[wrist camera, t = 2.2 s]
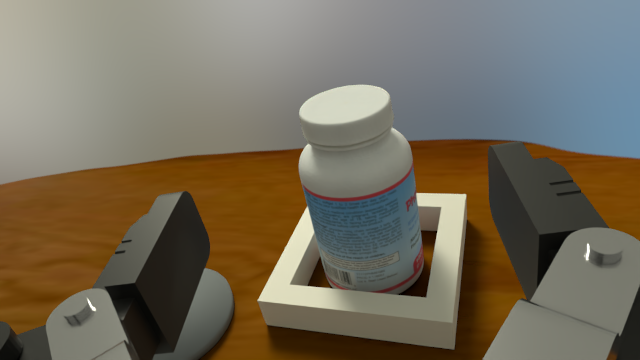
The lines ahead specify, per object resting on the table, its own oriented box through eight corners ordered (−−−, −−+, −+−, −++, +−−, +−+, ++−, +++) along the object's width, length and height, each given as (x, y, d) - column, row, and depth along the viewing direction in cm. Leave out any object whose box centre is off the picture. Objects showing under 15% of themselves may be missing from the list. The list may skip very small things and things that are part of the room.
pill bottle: (443, 283, 27) (429, 105, 21) (344, 320, 27) (301, 146, 21) (398, 225, 32) (377, 69, 27) (314, 255, 32) (273, 100, 26)
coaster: (75, 367, 27) (70, 360, 27) (154, 269, 34) (151, 262, 33) (192, 390, 25) (188, 383, 24) (255, 278, 31) (252, 271, 30)
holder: (266, 324, 27) (257, 300, 26) (320, 213, 35) (315, 191, 34) (454, 349, 24) (452, 322, 23) (466, 218, 32) (465, 194, 31)
